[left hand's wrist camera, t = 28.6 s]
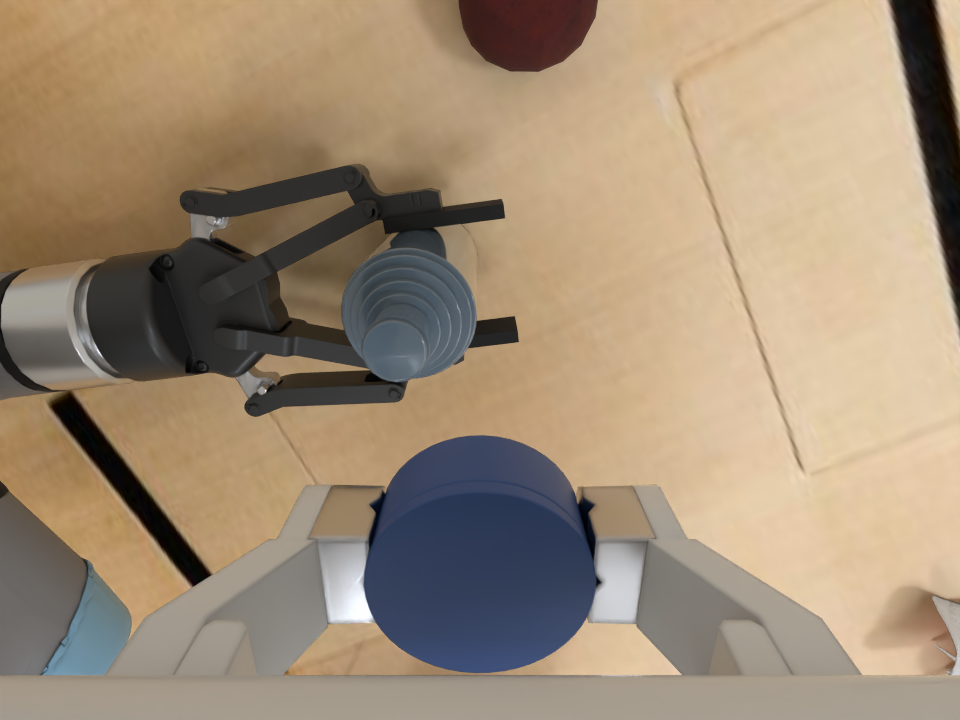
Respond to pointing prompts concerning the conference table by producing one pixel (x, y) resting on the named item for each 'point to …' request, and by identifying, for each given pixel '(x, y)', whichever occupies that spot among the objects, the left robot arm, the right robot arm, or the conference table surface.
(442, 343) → the bottle
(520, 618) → the cap
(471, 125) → the conference table surface
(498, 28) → the potato
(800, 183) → the conference table surface
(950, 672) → the fish
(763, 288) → the conference table surface
